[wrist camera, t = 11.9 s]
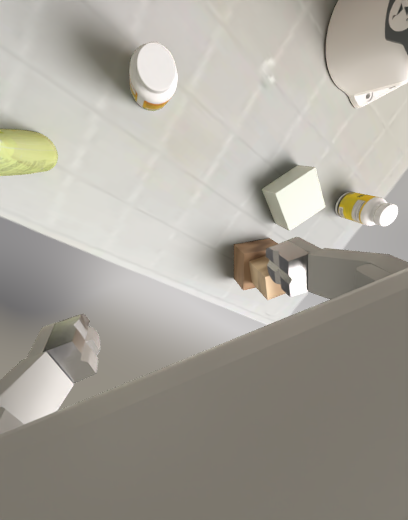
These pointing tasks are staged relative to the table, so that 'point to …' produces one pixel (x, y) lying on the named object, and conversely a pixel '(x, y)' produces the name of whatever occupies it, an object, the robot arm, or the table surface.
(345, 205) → the supplement bottle
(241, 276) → the walnut block
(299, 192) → the white block
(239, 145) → the table surface
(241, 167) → the table surface
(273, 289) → the oak block
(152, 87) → the supplement bottle
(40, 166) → the tube
